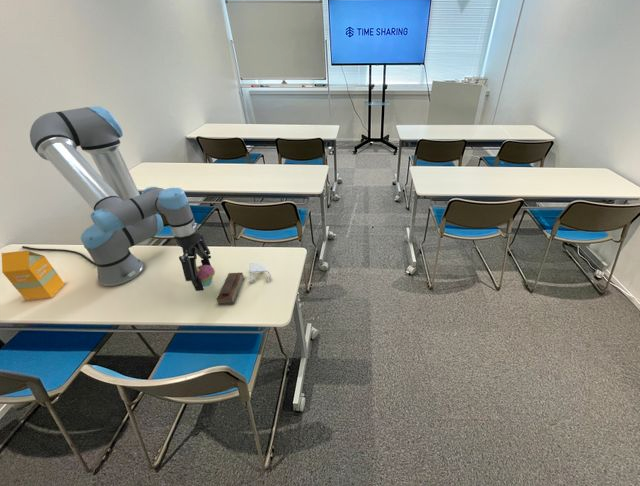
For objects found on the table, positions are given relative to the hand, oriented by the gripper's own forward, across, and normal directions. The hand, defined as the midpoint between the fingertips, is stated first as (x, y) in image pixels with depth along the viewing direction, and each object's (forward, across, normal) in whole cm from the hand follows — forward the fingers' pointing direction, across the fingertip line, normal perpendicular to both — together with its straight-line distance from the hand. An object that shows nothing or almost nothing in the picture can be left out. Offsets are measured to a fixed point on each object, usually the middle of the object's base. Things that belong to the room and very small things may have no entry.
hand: (204, 281), depth 112 cm
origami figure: (+6, +7, -18) cm, 21 cm away
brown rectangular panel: (+6, 0, -9) cm, 11 cm away
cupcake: (+1, 0, 0) cm, 1 cm away
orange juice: (+6, +4, +65) cm, 65 cm away
